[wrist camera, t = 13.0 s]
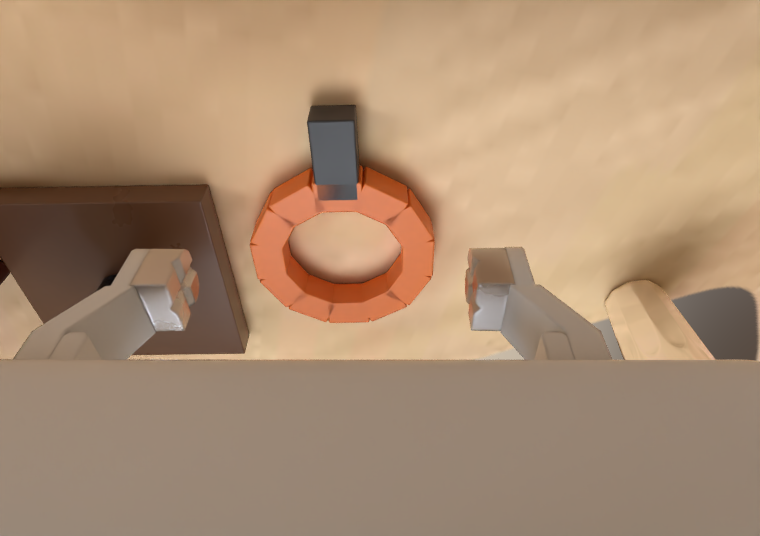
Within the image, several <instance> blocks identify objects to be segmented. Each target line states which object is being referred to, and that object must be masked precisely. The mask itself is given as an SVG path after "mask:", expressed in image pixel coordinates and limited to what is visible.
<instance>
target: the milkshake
mask: <svg viewBox="0 0 760 536" xmlns="http://www.w3.org/2000/svg"><path fill="white" fill-rule="evenodd" d="M605 307H606V310H607V314H608V317H609V320H610V322H611V325H612V328H613V331H614V334H615V336H616V339H617V342H618V345H619V348H620V350H621V353H622V355H623V358H624V360H716V359H715V358H714V357H713V356H712V354H711V353H710V352H709V350H708V349H707V348H706V346H705V345H704V344H703V342H702V341H701V340H700V338H699V337H698V336H697V334H696V333H695V332H694V330H693V329H692V328H691V326H690V325H689V324H688V322H687V321H686V320H685V318H684V317H683V316H682V314H681V313H680V312H679V310H678V309H677V308H676V306H675V305H674V304H673V302H672V301H671V300H670V298H669V297H668V296H667V294H666V293H665V292H664V290H663V289H662V288H661V287H660V286H659V285H657V284H655V283H652V282H650V281H648V280H640V281H631V282H627V283H625V284H624V285H622V286H620V287H618V288H616V289H614V290H613V291H612V292H611V294H610V295H609V297H608V298H607V300H606V301H605Z"/></svg>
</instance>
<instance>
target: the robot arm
mask: <svg viewBox="0 0 760 536" xmlns="http://www.w3.org/2000/svg"><path fill="white" fill-rule="evenodd" d="M191 262H192V258H191V255H190V253H189V251H188V250H186V249H134V250H132V251H131V252H130V254H129V256H128V257H127V259H126V261H125V262H124V264H123V266H122V268H121V269H120V271H119V273H118V274H117V276H116V278H115V279H114V281H113V283H112V284H111V286H105V287H103V288H101V289H100V290H98V291H97V292H95V293H93V294H92V295H90V296H88V297H87V298H85V299H84V300H82V301H80V302H79V303H77V304H75V305H74V306H72V307H71V308H69V309H67V310H66V311H64V312H62V313H61V314H59V315H58V316H56V317H54V318H53V319H51V320H49V321H48V322H46V323H45V324H43V325H41V326H40V327H38V328H36V329H35V330H33V331H32V332H31V334H30V335H29V337H28V338H27V339H26V341H25V342H24V344H23V345H22V347H21V348H20V350H19V351H18V352H17V354H16V355H15V357H14V358H13V360H0V536H760V362H759V361H753V360H612V357H611V355H610V352H609V350H608V347H607V345H606V343H605V340H604V338H603V335H602V333H601V331H600V330H599V329H597V328H596V327H595V326H594V325H592V324H591V323H590V322H588V321H587V320H586V319H584V318H583V317H582V316H580V315H579V314H578V313H576V312H575V311H574V310H573V309H571V308H570V307H569V306H567V305H566V304H565V303H563V302H562V301H561V300H559V299H558V298H557V297H556V296H554V295H553V294H552V293H550V292H549V291H548V290H546V289H545V288H544V287H542V286H541V285H535V282H534V279H533V276H532V273H531V270H530V266H529V263H528V260H527V257H526V254H525V251H524V249H523V248H522V247H505V248H470V249H469V253H468V264H469V268H468V269H467V270H466V278H465V294H466V301H467V303H468V304H469V312H468V314H469V320H470V326H471V330H478V331H501V333H502V335H503V336H504V337H505V338H506V339H507V340H508V341H509V342H510V343H511V345H512V346H513V347H514V348H515V349H516V350H517V351H518V352H519V354H520V355H521V356H522V357H523V358H524V359H525V360H126V359H127V358H129V357H130V356H131V355H132V354H133V353H134V352H135V351H136V350H137V349H138V348H140V347H141V346H142V345H143V344H144V343H145V342H146V341H147V340H148V339H149V338H150V337H152V336H153V335H154V334H155V333H156V332H155V331H184V330H185V328H186V325H187V323H188V321H189V318H190V316H191V312H190V309H189V307H190V306H192V305H193V304H194V303H196V300H197V298H198V294H199V279H198V275H197V272H196V271H195V270H194V269H192V268H191V267H190V264H191Z"/></svg>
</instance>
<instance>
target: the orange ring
mask: <svg viewBox="0 0 760 536" xmlns="http://www.w3.org/2000/svg"><path fill="white" fill-rule="evenodd" d="M307 125H308V133H309V142H310V150H311V158H312V166H313V170H312V168H310V169H308V170H306V171H304V172H303V173H301V174H299V175H297V176H296V177H294V178H292V179H290V180H289V181H287V182H285V183H283V184H282V185H280V186H278V187H276V188H274V190H273V192H271V193H270V195H269V197H268V199H267V201H266V203H265V205H264V207H263V209H262V212H261V214H260V216H259V218H258V220H257V222H256V224H255V228H254V231H253V234H252V237H251V243H250V248H251V252H252V257H253V261H254V265H255V269H256V273H257V277H258V279H260V282H261V283H262V284H263V285H264V286H265V287H266V288H267V289H268V290H269V291H270V292H271V293H272V294H273V295H274V296H275V297H276V298H277V299H278V300H279V301H280V302H281V303H282V304H283V305H284V306H285V307H288V306H289V309H291V310H293V311H296V312H299V313H302V314H304V315H307V316H310V317H313V318H316V319H318V320H321V321H324V322H326V321H327V320H328V319H329V323H348V322H369V319H370V320H371V321H374V320H377V319H379V318H382V317H384V316H386V315H389V314H391V313H393V312H396V311H398V310H400V309H403V308H405V307H407V304H408V305H410V304H411V302H412V301H413V300H414V299H415V298H416V296H417V295H418V294H419V293H420V291H421V290H422V289H423V288H424V287H425V285H426V284H427V283H428V282H429V280H430V279H431V276H432V275H433V259H434V243H435V241H434V234H433V227H432V223H431V219H430V218H429V216H428V215H427V213H426V212H425V210H424V209H423V207H422V206H421V204H420V203H419V201H418V200H417V198H416V197H415V195H414V194H413V192H412V191H411V189H410V188H409V189H407V186H406V185H404V184H402V183H400V182H397V181H395V180H393V179H391V178H389V177H387V176H385V175H383V174H381V173H379V172H377V171H374V170H372V169H370V168H368V167H366V168H365V169H364V171H363V167H362V166H359V149H358V131H357V113H356V106H355V105H335V106H311V108H310V112H309V117H308V121H307ZM322 212H358V213H361V214H363V215H365V216H367V217H370V218H372V219H374V220H376V221H379V222H381V223H383V224H385V225H386V226H387V227H388V228H389V230H390V231H391V232H392V234H393V235H394V236H395V238H396V239H397V240H398V242H399V243H400V244H401V254H400V255H399V257H398V258H397V259H396V261H395V262H394V263H393V265H392V266H391V267H390V269H389V270H388V271H387V273H384V274H382V275H380V276H378V277H376V278H374V279H371V280H369V281H367V282H365V283H363V284H333V283H330V282H328V281H325V280H322V279H320V278H317V277H315V276H312V275H309V274H308V273H307V272H306V271H305V270H304V269H303V268H302V267H301V266H300V265H299V264H298V263H297V261H296V260H295V259H294V258H293V257H292V256H291V253H290V248H289V242H288V238H289V237H290V235H291V233H292V231H293V229H294V227H295V226H297V225H299V224H301V223H303V222H305V221H306V220H308V219H310V218H312V217H314V216H316V215H318V214H320V213H322Z"/></svg>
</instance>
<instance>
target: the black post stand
mask: <svg viewBox="0 0 760 536" xmlns="http://www.w3.org/2000/svg"><path fill="white" fill-rule="evenodd" d="M134 249H186V250H188V251H189V253H190V255H191V258H192V262H191V264H190V267H191V268H192V269H194V270H195V271H196V272H197V275H198V279H199V294H198V298H197V300H196V303H194V304H193V305H192V306H190V307H189V309H190V312H191V316H190V318H189V321H188V323H187V325H186V328H185V330H184V331H155V332H156V333H155V334H154V335H153V336H152V337H150V338H149V339H148V340H147V341H146V342H145V343H144V344H143V345H142V346H141V347H140V348H138V349H137V350H136V351H135V352H134V353H133V354H132V355H171V354H244V353H245V350H246V346H247V342H248V338H249V333H248V329H247V326H246V322H245V318H244V315H243V311H242V307H241V304H240V300H239V296H238V293H237V289H236V285H235V282H234V278H233V274H232V270H231V267H230V263H229V259H228V256H227V252H226V248H225V245H224V241H223V237H222V234H221V230H220V226H219V223H218V219H217V215H216V212H215V208H214V204H213V201H212V197H211V193H210V190H209V186H208V185H163V186H101V187H39V188H0V257H1V258H2V260H3V261H4V263H5V265H6V266H7V268H8V269H9V271H10V272H11V274H12V275H13V277H14V278H15V280H16V282H17V283H18V285H19V286H20V288H21V289H22V291H23V292H24V294H25V295H26V297H27V299H28V300H29V302H30V303H31V305H32V306H33V308H34V309H35V311H36V312H37V314H38V316H39V317H40V319H41V320H42V322H43V323H44V324H45V323H46V322H48V321H49V320H51V319H53V318H54V317H56V316H58V315H59V314H61V313H62V312H64V311H66V310H67V309H69V308H71V307H72V306H74V305H75V304H77V303H79V302H80V301H82V300H84V299H85V298H87V297H88V296H90V295H92V294H93V293H95V292H97V291H98V290H100V289H101V288H103V287H105V286H111V284H112V283H113V281H114V279H115V278H116V276H117V274H118V273H119V271H120V269H121V268H122V266H123V264H124V262H125V261H126V259H127V257H128V256H129V254H130V252H131V251H132V250H134Z"/></svg>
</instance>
